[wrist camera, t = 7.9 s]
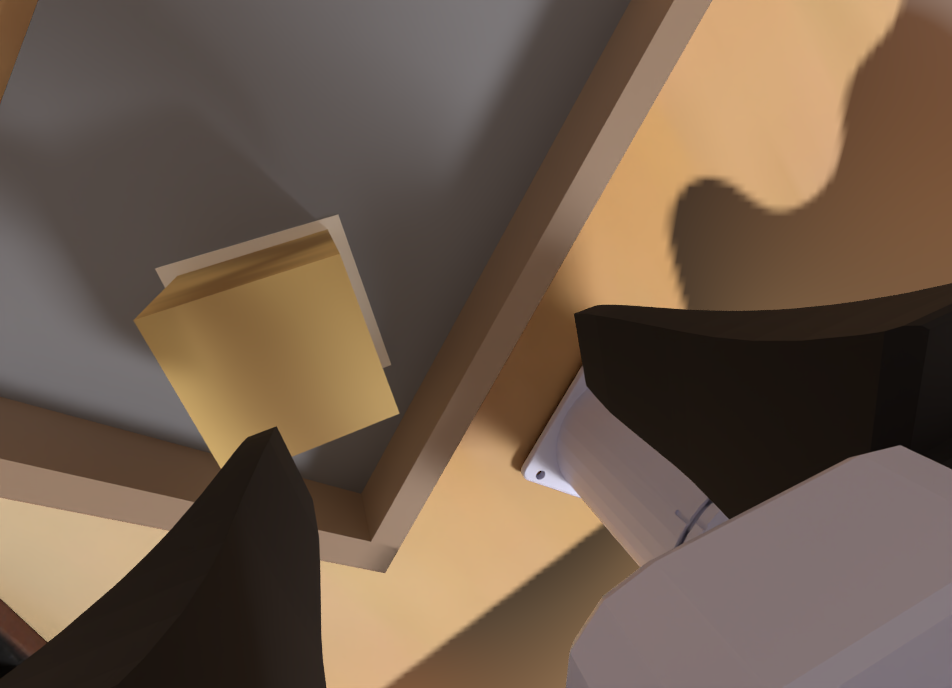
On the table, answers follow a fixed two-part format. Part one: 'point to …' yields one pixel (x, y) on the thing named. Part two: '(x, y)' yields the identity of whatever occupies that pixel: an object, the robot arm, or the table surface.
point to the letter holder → (15, 640)
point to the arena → (296, 217)
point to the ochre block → (269, 348)
